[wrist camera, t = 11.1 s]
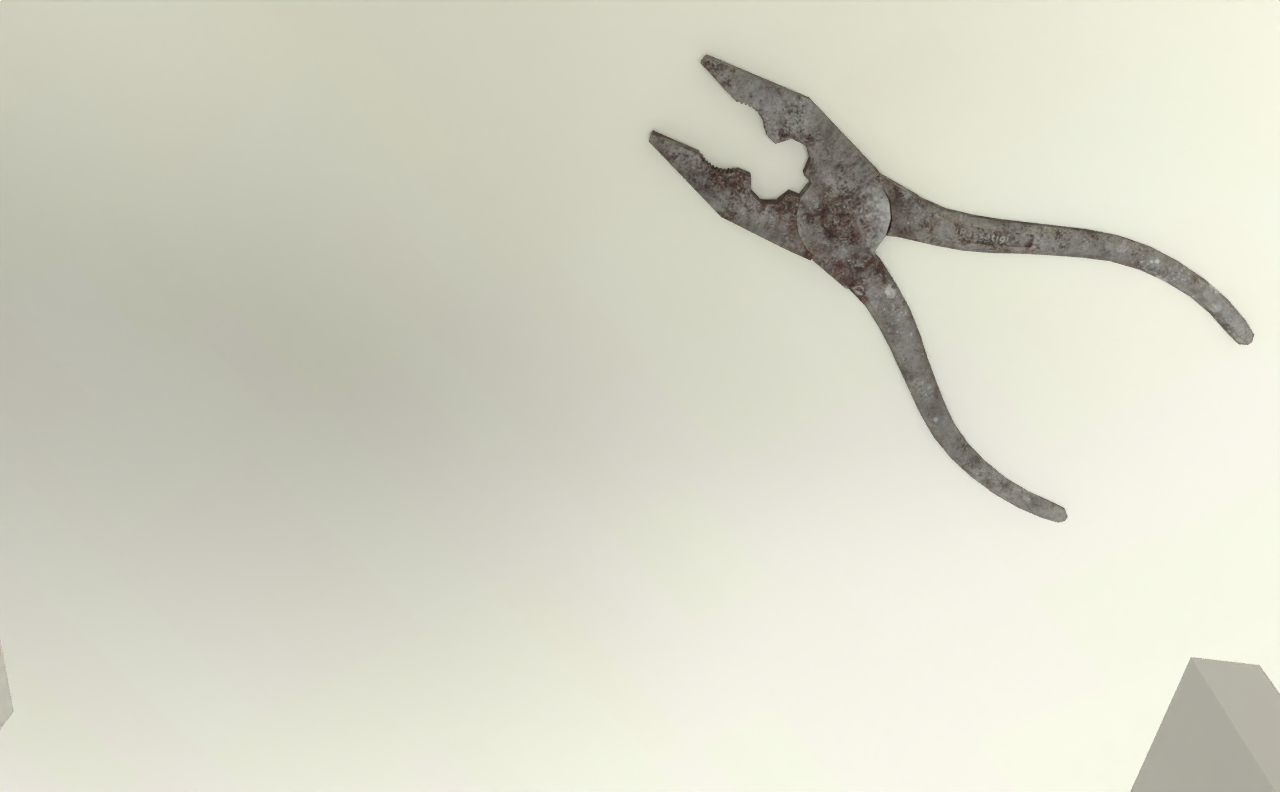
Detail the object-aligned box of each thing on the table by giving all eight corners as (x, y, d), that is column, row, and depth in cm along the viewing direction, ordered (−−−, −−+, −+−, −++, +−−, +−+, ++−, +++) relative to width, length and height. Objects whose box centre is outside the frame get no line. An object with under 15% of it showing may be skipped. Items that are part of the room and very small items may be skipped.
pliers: (1104, 546, 38) (569, 329, 35) (1096, 532, 39) (571, 319, 36) (1283, 308, 34) (690, 44, 31) (1270, 298, 35) (690, 39, 32)
